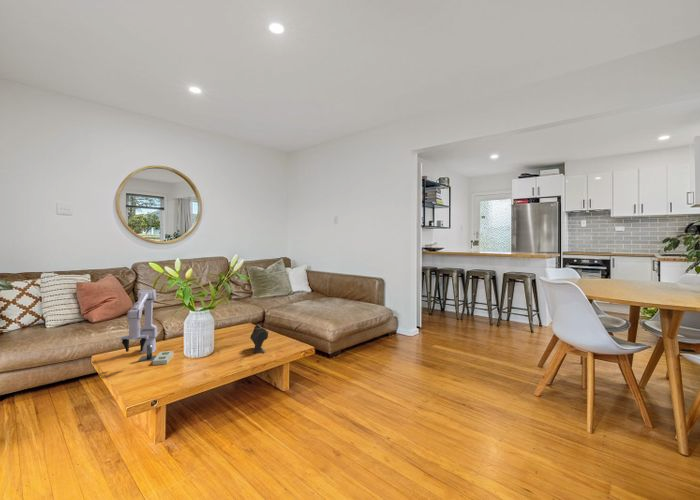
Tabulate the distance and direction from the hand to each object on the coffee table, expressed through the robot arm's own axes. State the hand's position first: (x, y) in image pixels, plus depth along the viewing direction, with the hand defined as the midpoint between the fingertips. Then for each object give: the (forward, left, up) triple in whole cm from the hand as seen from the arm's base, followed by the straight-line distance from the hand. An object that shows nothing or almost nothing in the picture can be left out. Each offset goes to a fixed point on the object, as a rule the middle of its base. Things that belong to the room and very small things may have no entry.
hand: (134, 350), depth 203 cm
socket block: (-8, +14, -10) cm, 19 cm away
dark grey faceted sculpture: (-18, +74, -10) cm, 77 cm away
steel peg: (-11, +5, -10) cm, 16 cm away
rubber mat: (-12, +4, -10) cm, 16 cm away
